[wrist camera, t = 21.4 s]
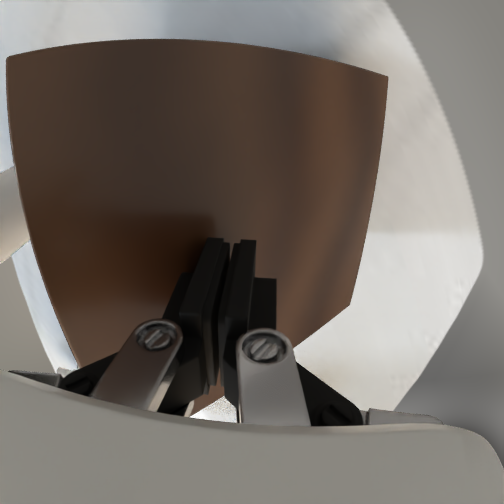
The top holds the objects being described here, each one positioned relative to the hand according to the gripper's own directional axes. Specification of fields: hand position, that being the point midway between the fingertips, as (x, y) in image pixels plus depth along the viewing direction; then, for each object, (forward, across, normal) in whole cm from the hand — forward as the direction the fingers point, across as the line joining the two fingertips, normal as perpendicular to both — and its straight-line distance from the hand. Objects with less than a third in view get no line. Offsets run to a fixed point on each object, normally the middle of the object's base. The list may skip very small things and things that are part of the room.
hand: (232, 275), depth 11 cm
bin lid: (+3, -1, 0) cm, 3 cm away
